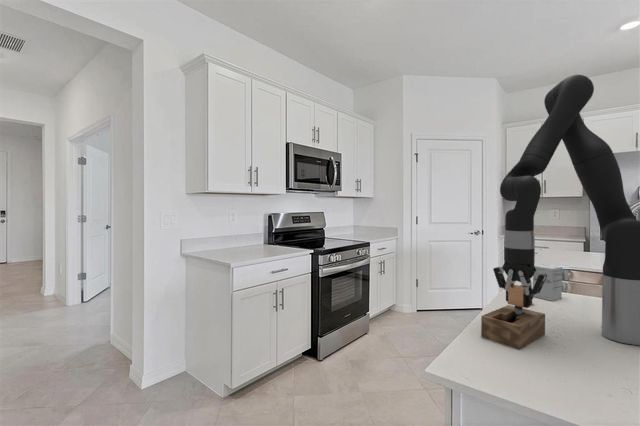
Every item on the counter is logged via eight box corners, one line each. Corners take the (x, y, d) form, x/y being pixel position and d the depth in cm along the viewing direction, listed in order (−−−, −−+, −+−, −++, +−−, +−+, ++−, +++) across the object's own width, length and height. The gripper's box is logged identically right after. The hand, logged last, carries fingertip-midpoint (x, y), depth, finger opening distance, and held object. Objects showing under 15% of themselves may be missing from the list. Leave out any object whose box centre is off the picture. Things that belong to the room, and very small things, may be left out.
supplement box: (531, 296, 130) (532, 265, 130) (542, 294, 134) (542, 263, 134) (552, 301, 124) (552, 268, 124) (562, 298, 127) (563, 266, 127)
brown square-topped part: (529, 332, 94) (529, 287, 94) (522, 335, 92) (523, 289, 92) (514, 327, 98) (514, 284, 97) (507, 331, 95) (508, 286, 95)
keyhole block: (544, 334, 94) (545, 313, 93) (519, 349, 84) (519, 326, 84) (508, 324, 102) (508, 305, 102) (481, 336, 92) (481, 315, 92)
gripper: (553, 247, 90) (552, 309, 91) (499, 242, 102) (499, 297, 102) (541, 250, 86) (540, 314, 87) (487, 244, 98) (487, 301, 98)
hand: (518, 305), depth 95 cm, fingers closed on brown square-topped part, 3 cm apart
